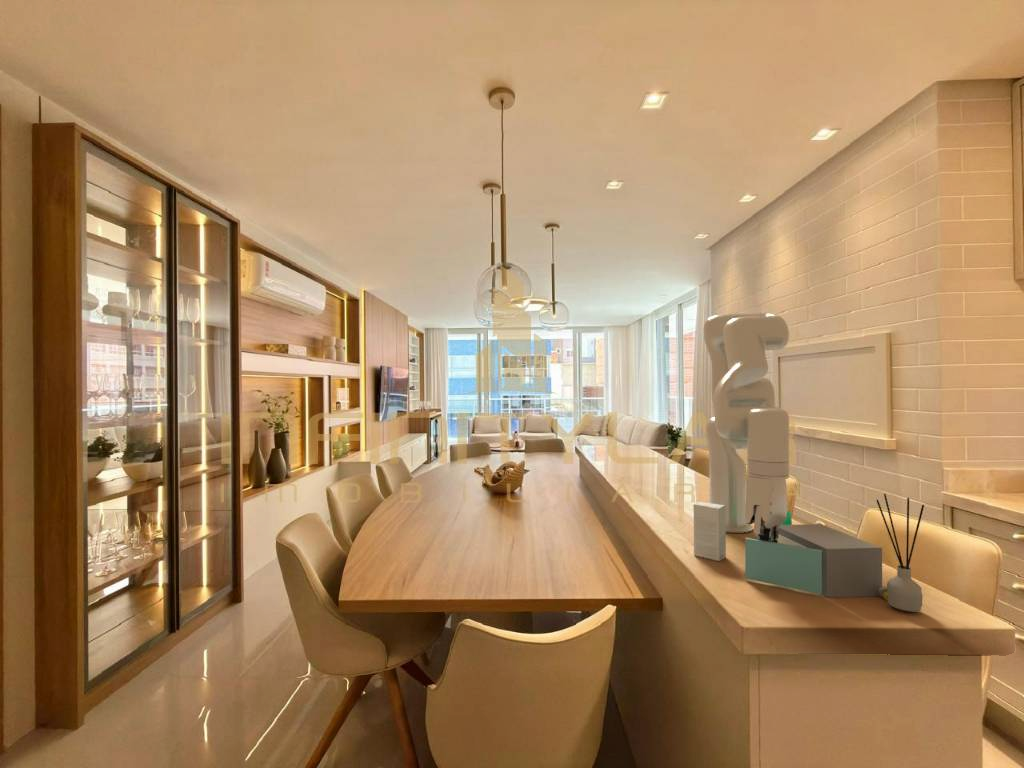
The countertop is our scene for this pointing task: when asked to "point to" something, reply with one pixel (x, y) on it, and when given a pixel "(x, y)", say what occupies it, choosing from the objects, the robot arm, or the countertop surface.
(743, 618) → the countertop surface
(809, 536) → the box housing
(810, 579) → the side door
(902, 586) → the reed diffuser
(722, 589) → the countertop surface
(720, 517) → the skincare box
